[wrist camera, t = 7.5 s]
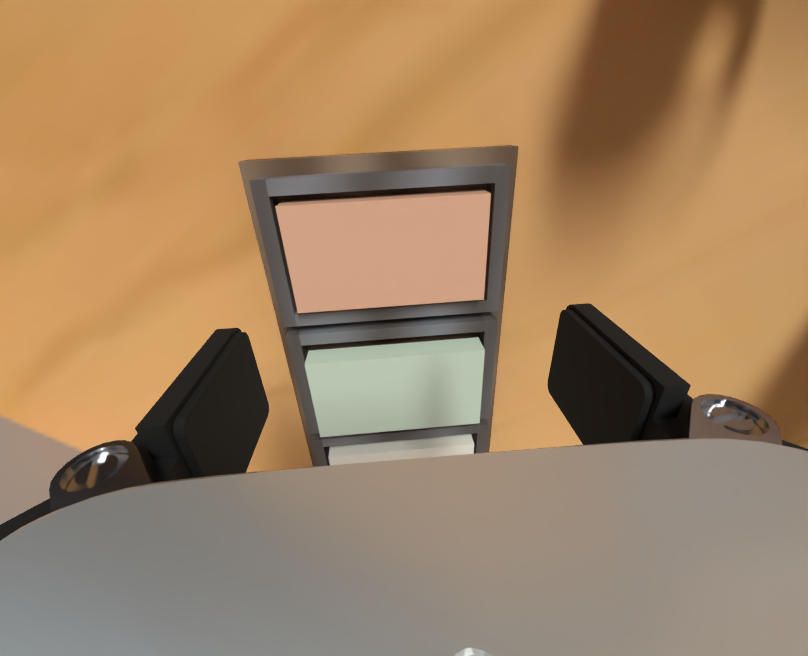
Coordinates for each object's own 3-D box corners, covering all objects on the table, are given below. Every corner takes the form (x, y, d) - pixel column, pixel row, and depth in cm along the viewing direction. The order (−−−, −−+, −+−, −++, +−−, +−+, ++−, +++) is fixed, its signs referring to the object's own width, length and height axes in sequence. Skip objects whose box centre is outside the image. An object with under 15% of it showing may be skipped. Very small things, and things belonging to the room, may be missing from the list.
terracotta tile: (482, 188, 20) (490, 193, 18) (477, 289, 23) (484, 299, 21) (282, 201, 19) (275, 206, 18) (302, 301, 22) (297, 313, 21)
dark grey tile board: (509, 145, 21) (528, 147, 18) (481, 472, 34) (490, 501, 32) (247, 159, 20) (228, 164, 18) (324, 487, 34) (319, 517, 31)
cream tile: (469, 428, 29) (474, 444, 27) (466, 479, 31) (470, 495, 30) (330, 441, 28) (328, 457, 27) (340, 491, 31) (339, 508, 30)
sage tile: (478, 337, 23) (484, 350, 22) (474, 407, 26) (479, 423, 25) (308, 350, 23) (304, 364, 22) (323, 420, 26) (320, 437, 24)
